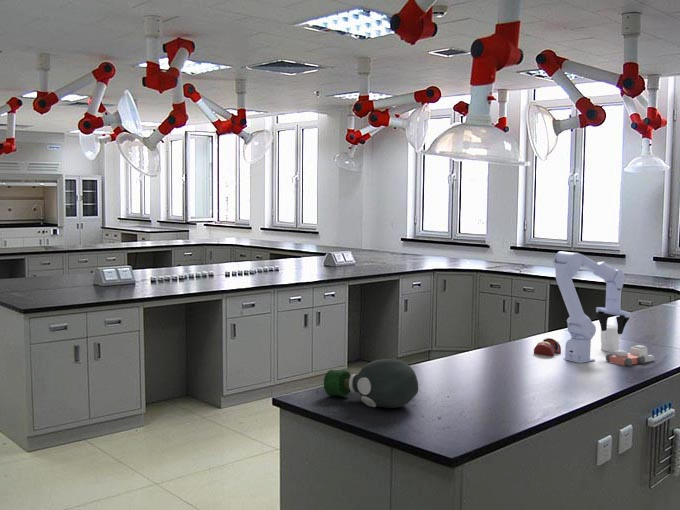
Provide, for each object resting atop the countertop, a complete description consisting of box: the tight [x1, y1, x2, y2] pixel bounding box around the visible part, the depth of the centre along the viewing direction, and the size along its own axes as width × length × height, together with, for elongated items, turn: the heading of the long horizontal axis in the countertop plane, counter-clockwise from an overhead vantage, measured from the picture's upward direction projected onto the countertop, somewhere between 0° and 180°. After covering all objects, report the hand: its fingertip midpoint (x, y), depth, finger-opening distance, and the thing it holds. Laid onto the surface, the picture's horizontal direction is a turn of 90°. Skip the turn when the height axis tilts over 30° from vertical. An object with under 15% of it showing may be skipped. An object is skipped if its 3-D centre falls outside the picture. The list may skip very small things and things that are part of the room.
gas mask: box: [323, 358, 419, 409], centre depth 213 cm, size 14×18×30 cm
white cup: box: [600, 324, 621, 353], centre depth 290 cm, size 8×8×10 cm
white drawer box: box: [629, 344, 649, 356], centre depth 273 cm, size 5×4×6 cm
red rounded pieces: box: [533, 337, 562, 358], centre depth 283 cm, size 8×6×12 cm
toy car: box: [605, 349, 655, 367], centre depth 270 cm, size 18×10×4 cm, turn 122°
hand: (611, 332), depth 278 cm, fingers open, 7 cm apart
